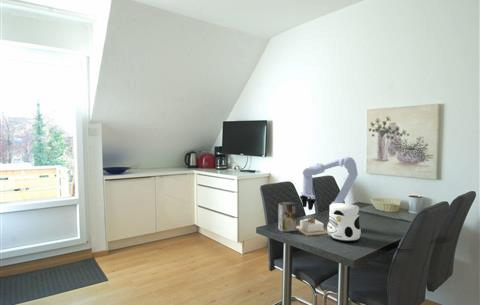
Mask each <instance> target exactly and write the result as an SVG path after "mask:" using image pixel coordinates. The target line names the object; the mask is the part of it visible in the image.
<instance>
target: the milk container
mask: <svg viewBox="0 0 480 305" xmlns="http://www.w3.org/2000/svg"><path fill="white" fill-rule="evenodd" d="M328 209H329V210H328V211H329V214H328V215H329V216H328V222H327V225H328V226H327V225H326V228H327V229H326V230H327V232H328V235H327V236H329V237H330V238H332V239H333V240H336V241H340V242H355V241H358V240H359V239H360V237H361V234H362V232H361V226H360V207H359V206H358V205H356V204H352V203H344V202H343V203H334V204H329V208H328Z"/></svg>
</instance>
